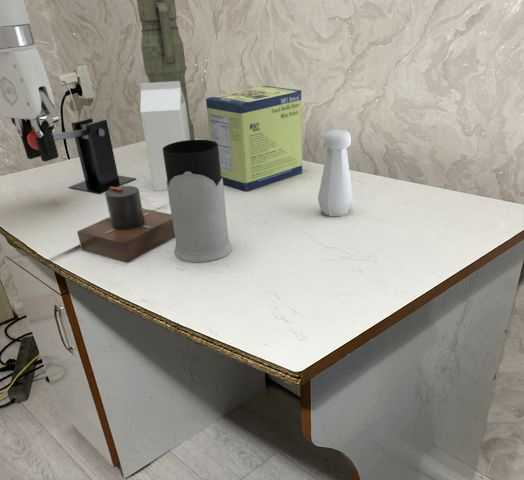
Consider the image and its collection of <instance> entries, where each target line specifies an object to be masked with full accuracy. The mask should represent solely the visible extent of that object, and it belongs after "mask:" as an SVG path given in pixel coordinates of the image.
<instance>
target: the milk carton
mask: <svg viewBox="0 0 524 480" xmlns="http://www.w3.org/2000/svg"><path fill="white" fill-rule="evenodd" d="M139 85H140V86H139V87H140V104H139V105H140V106H139V113H140V118H141V125H142V129H143V136H144V142H145V146H146V147H145V148H146V153H147V159H148V165H149V170H150V176H151V182H152V187H153V191H155V192H156V191H168V189H167V183H166V181H167V175H166V168H165V162H164V155H163V147H165V146H166V145H169V144H172V143H175V142H180V141H186V140H190V133H189V125H188V117H187V109H186V102H185V99H184V96H183V93H182V90H181V86H180V81H173V82H156V83H149V82H141V83H139Z"/></svg>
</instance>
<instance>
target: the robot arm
mask: <svg viewBox="0 0 524 480" xmlns="http://www.w3.org/2000/svg"><path fill="white" fill-rule="evenodd" d="M56 108H57V107H56V101H55V98H54V94H53V90H52V87H51V82H50V80H49V77H48V74H47V71H46V68H45V65H44V62H43V60H42V57H41V55H40V53H39V50H38V48H37V44H36V40H35V37H34V32H33V29H32V25H31V22H30V18H29V13H28V11H27V6H26V2H25V0H0V114H1V115H2V116H4V117H5V118H7V119H9V120H10V121H11V122H12V125H14V126H15V127H16V131H17V132H16V133H17V134H18V135H19V136H20V138H21V142H22V144H23V148H24V152H25V154H26V158H27V159H28V160H33V159H36V158H39V157H40V158H41V161H42V162H45V163H46V162H49V161H52V160H55V159H58V158H59V152H58V149H57V148H58V147H57V144H56V141H54V137H53V134H55V130H54V128H55V126H56V124H57V123H58V122H59V121H60V116H59V114H58V113H57V110H56ZM40 121H41V123H40ZM33 130H35V131H36V134H37V136H38V137H36V142H37V145H38V149H39V150H36V149H33V148H32V147H31V146H30V145H29V144H28V141H27V136H28V134H29V132H31V131H33Z"/></svg>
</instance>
